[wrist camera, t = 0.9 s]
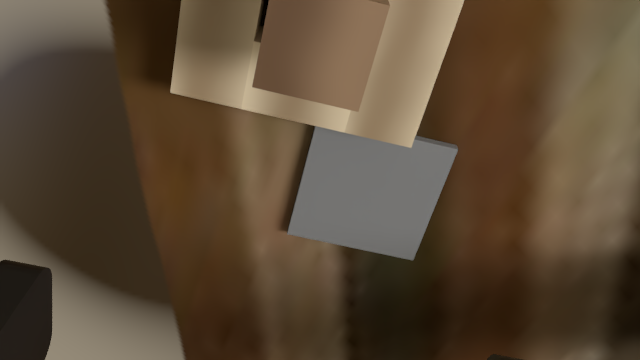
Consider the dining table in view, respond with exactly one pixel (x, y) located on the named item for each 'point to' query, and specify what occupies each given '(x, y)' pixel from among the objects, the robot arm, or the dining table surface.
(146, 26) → the dining table surface
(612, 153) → the dining table surface
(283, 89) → the walnut block
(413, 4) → the pocket frame
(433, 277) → the dining table surface
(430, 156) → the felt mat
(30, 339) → the robot arm
